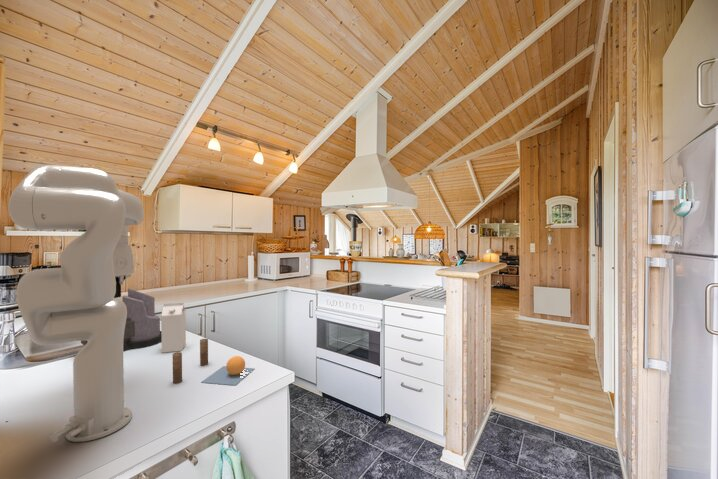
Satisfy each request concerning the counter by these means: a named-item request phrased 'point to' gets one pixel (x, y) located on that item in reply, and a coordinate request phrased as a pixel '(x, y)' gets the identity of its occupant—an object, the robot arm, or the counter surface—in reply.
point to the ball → (235, 365)
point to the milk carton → (173, 327)
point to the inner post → (177, 367)
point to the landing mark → (225, 377)
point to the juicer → (140, 322)
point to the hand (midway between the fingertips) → (114, 297)
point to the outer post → (203, 352)
